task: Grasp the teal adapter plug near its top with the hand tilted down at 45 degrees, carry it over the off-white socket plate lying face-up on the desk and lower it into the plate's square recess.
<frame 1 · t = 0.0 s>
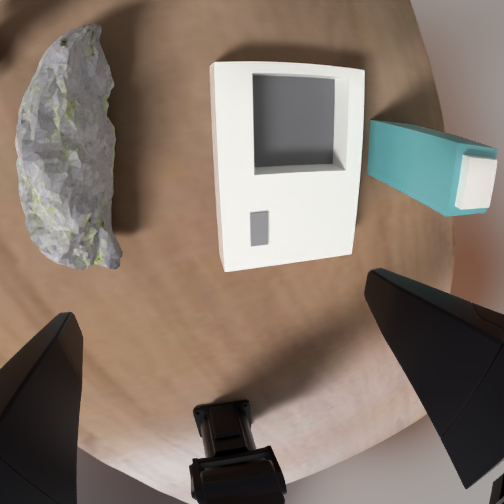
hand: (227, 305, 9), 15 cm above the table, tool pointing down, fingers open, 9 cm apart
rock: (77, 156, 19), on the table
plug: (390, 147, 24), on the table
socket plate: (283, 161, 23), on the table
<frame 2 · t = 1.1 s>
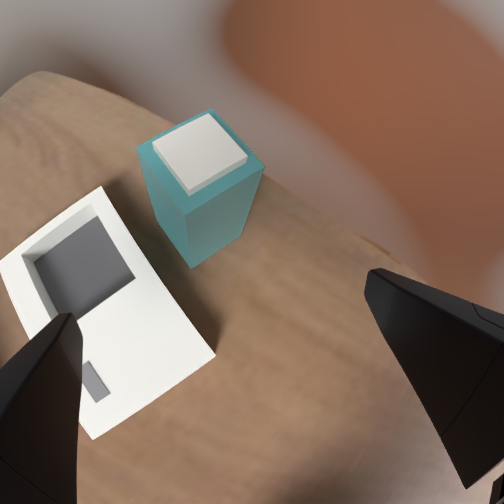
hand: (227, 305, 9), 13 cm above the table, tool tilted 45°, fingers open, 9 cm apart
plug: (198, 228, 24), on the table
socket plate: (99, 313, 21), on the table
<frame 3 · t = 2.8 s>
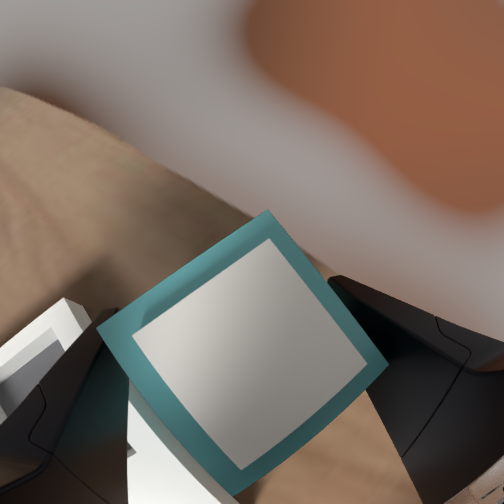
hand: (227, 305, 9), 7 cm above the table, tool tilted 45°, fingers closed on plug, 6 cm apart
plug: (222, 353, 15), on the table, touching gripper
socket plate: (91, 466, 12), on the table
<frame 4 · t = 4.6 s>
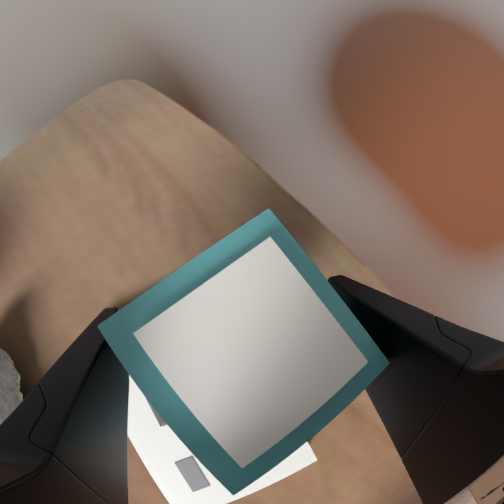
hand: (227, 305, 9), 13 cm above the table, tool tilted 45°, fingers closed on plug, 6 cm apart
rock: (26, 438, 17), on the table
plug: (222, 352, 15), point 7 cm above the table, touching gripper
socket plate: (199, 401, 20), on the table
when the fingers open (8 cm above the table, at t = 6.2 s): plug stays where it is, resting on socket plate.
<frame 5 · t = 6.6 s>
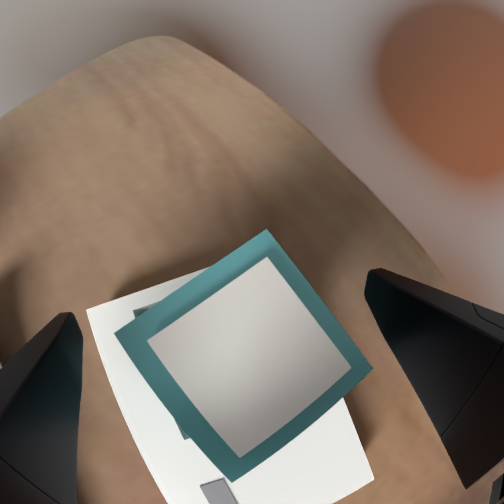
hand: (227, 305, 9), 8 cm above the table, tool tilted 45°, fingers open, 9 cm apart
plug: (223, 354, 16), point 1 cm above the table, touching socket plate
socket plate: (232, 406, 16), on the table
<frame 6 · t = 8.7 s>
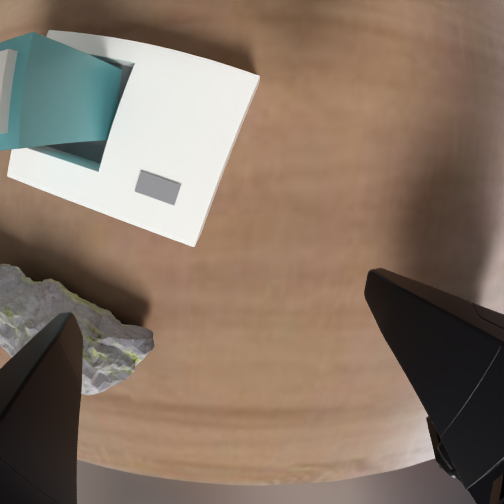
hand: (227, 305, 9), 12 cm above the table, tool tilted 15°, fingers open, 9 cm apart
rock: (73, 312, 23), on the table
plug: (87, 105, 17), point 1 cm above the table, touching socket plate
socket plate: (124, 125, 18), on the table
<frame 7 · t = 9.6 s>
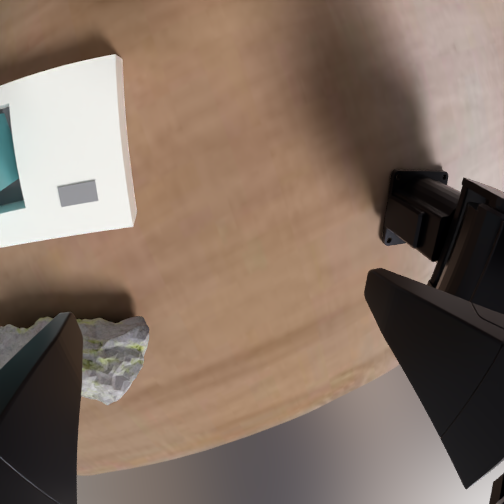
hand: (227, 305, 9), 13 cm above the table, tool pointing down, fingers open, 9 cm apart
rock: (73, 335, 24), on the table
socket plate: (29, 156, 16), on the table
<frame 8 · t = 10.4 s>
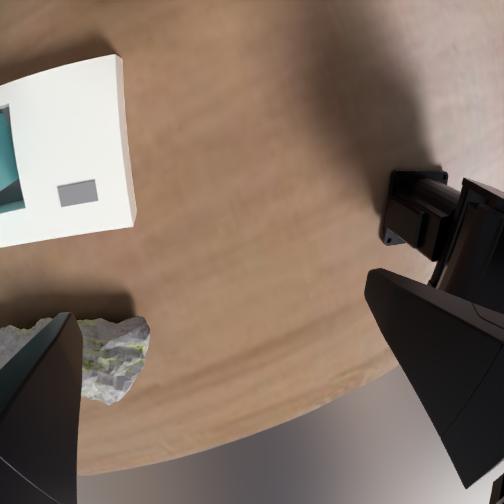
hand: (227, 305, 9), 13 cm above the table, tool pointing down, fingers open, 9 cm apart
rock: (75, 336, 24), on the table
socket plate: (29, 156, 16), on the table
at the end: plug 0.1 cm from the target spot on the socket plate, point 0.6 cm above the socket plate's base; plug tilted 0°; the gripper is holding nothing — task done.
